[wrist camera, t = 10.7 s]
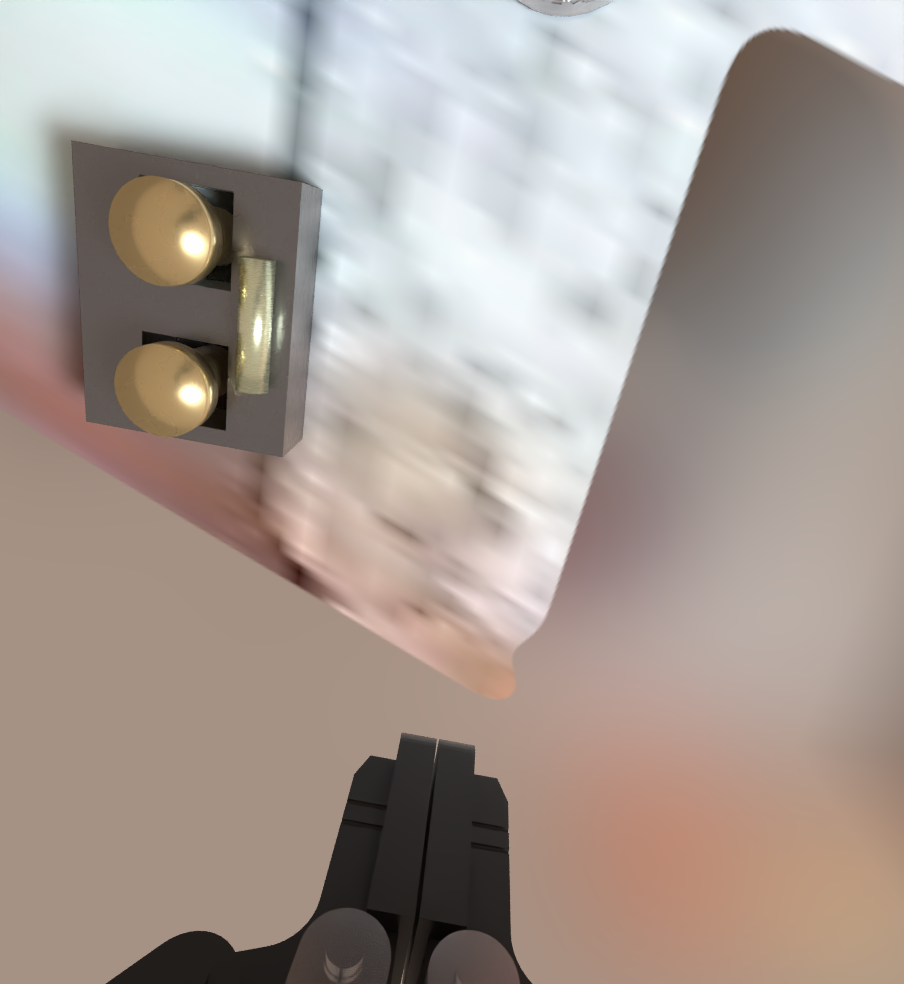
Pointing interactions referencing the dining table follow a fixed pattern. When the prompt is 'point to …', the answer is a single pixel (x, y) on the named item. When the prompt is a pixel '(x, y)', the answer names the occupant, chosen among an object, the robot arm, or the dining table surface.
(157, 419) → the brass knob
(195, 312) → the level base plate
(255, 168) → the dining table surface
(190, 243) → the brass knob
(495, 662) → the dining table surface
